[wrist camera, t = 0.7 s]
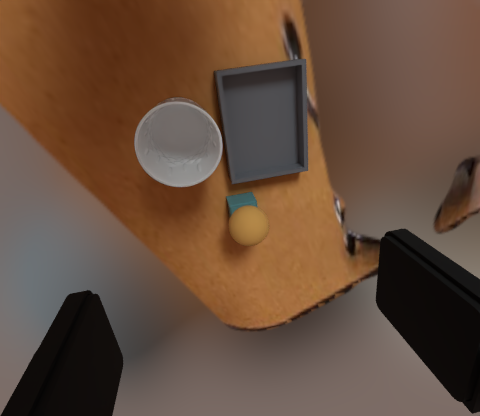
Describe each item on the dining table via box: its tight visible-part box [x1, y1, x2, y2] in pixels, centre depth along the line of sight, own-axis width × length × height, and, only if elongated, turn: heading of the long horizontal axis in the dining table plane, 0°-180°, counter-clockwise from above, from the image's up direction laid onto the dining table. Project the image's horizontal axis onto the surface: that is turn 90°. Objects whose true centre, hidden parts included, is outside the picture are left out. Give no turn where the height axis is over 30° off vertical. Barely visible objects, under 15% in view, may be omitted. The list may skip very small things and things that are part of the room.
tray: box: [214, 59, 308, 184], centre depth 37 cm, size 13×10×3 cm
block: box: [226, 192, 257, 218], centre depth 41 cm, size 4×4×4 cm
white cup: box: [134, 97, 223, 187], centre depth 32 cm, size 8×8×10 cm
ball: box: [229, 205, 269, 246], centre depth 37 cm, size 5×5×5 cm
